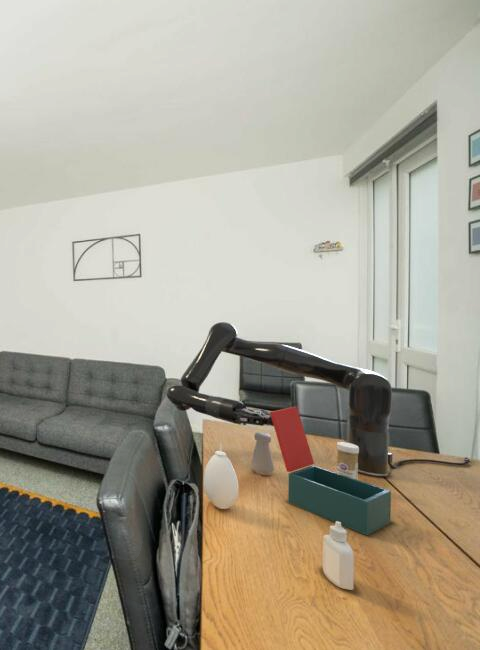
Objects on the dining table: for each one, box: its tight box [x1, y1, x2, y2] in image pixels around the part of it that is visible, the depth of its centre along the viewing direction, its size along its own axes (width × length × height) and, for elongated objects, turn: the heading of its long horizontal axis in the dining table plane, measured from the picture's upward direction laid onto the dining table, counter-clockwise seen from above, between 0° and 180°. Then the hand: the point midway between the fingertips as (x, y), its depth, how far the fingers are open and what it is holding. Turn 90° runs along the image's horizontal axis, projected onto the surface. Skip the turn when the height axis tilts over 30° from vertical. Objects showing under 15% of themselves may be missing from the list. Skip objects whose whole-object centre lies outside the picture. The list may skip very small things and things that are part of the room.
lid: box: [269, 406, 315, 473], centre depth 104 cm, size 16×13×1 cm
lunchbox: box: [287, 464, 392, 536], centre depth 95 cm, size 16×13×8 cm
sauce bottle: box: [203, 442, 239, 510], centre depth 98 cm, size 8×8×18 cm
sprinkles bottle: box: [336, 441, 359, 480], centre depth 107 cm, size 5×5×14 cm
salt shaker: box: [251, 432, 275, 476], centre depth 118 cm, size 6×6×13 cm
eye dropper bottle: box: [322, 521, 355, 591], centre depth 72 cm, size 4×6×12 cm
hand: (285, 425), depth 106 cm, fingers closed
